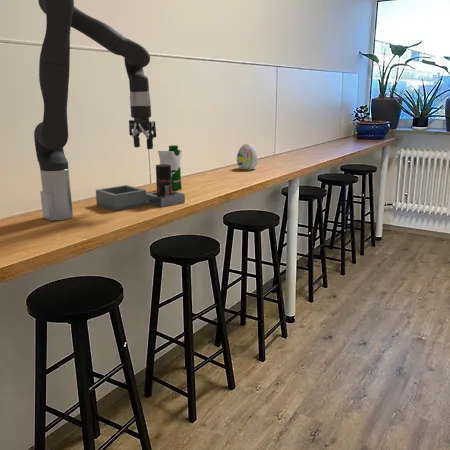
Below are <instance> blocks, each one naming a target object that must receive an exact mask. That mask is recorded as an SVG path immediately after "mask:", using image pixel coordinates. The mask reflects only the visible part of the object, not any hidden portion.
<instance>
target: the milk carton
mask: <svg viewBox="0 0 450 450" xmlns="http://www.w3.org/2000/svg"><path fill="white" fill-rule="evenodd" d="M182 151H183V150H182V149H179V146H178V145H172V144H171V145H168V148H166V149H160V150H157V155H158V157H159V164H169V165H171V186H172V191H175V192H178V191H179V190H182V189H183V188H182V175H181V173H182V172H181V158H182Z"/></svg>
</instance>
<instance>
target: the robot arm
mask: <svg viewBox="0 0 450 450" xmlns="http://www.w3.org/2000/svg"><path fill="white" fill-rule="evenodd" d="M74 1H75V0H37V2H38V6H39V7H40V10H41V11H42V12H43V13H44V14H45V17H46V19H45V21H46V23H45V24H46V26H45V27H46V28H45V29H46V30H45V33H44V38H43V41H42V45H41V49H40V53H39V65H38V69H39V70H38V81H39V87H40V91H41V96H42V100H43V116H42V117H43V118H42V121H41V122H39V123H38V124H37V125H36V126H35V129H34V132H33V138H34V147H35V153H36V158H37V159H36V160H37V162H38V165H39V170H40V171H39V172H40V180H41V189H42V190H41V191H40V199H41V200H40V201H41V209H42V216H43V217H42V218H43V219H45V220H47V221H50V222H51V221H53V222H54V221H62V220H63V221H64V220H68V219H71V218H73V217H74V212H73V210H74V209H73V203H72V191H71V181H70V171H69V162H68V160H67V157H66V154H65V153H64V151H65V150H64V148H65V146H66V145H67V143H68V140H69V125H68V97H69V84H70V83H69V82H70V65H71V64H70V62H71V61H70V58H71V46H70V45H71V36H70V35H71V28H73V29H74V30H77V31H78V32H80V33H82V34H83V35H85V36H86V37H88V38H89V39H91V40H93V41H94V42H96V43H97V44H99V45H100V46H102V47H103V48H105V49H106V50H107V51H109V52H110V53H112V54H113V55H116V56H121V57H123V58H124V59H123V60H124V67H125V70H126V74H127V77H128V82H129V83H128V84H129V106H130V117H131V118H133V119H129V120H128V132H129V133H128V134H129V136H131V138H133V146H134V148H140V147H141V143H140V142H141V141H140V134H141V133H142V135H144V136H145V138H146V149H147V150H153V149H154V141H153V140H154V138H156V137H157V128H156V121H155V120H150V118H151V117H152V107H151V105H152V104H151V95H150V86H149V85H150V84H149V77H148V76H147V75H145V73H144V68H145V67H147V66H148V65H149V64H150V61H151V55H150V53H149V51H148V50H147V49H146V47H144V46H142V45H141V44H139V43H138V42H136V41H134V40H131V39H129V38H127V37H126V36H124V35H123V34H122V33H121V32H119V31H118V30H116V29H114V28H113V27H111V26H110V25H108V23H105V22H102V21H101V20H99V19H97V18H95V17H92V16H90V15H88V14H87V13H84V12H83V11H82V10H80V9H78V8H77V7H76V6H75V5H74V4H75V2H74Z"/></svg>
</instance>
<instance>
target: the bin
mask: <svg viewBox="0 0 450 450" xmlns="http://www.w3.org/2000/svg"><path fill="white" fill-rule="evenodd" d="M146 193H147V190H146V189H144V188H139V187H135V186H133V185H128V184H125V185H117V186H111V187H106V188H99V189H95V197H96V199H95V200H96V205H97V206H99V207H103V208H105V209H108V210H112V211H113V212H118V211H123V210H128V209H133V208H138V207H139V208H140V207H144V206H147V204H148V203H147V200H146Z"/></svg>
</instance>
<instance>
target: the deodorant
mask: <svg viewBox="0 0 450 450" xmlns="http://www.w3.org/2000/svg"><path fill="white" fill-rule="evenodd" d="M155 179H156V183H155V184H156V191H157V195H158V196H162V197H163V196H169V195H172V186H171V165H169V164H160V163H159V164H156V165H155Z"/></svg>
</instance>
